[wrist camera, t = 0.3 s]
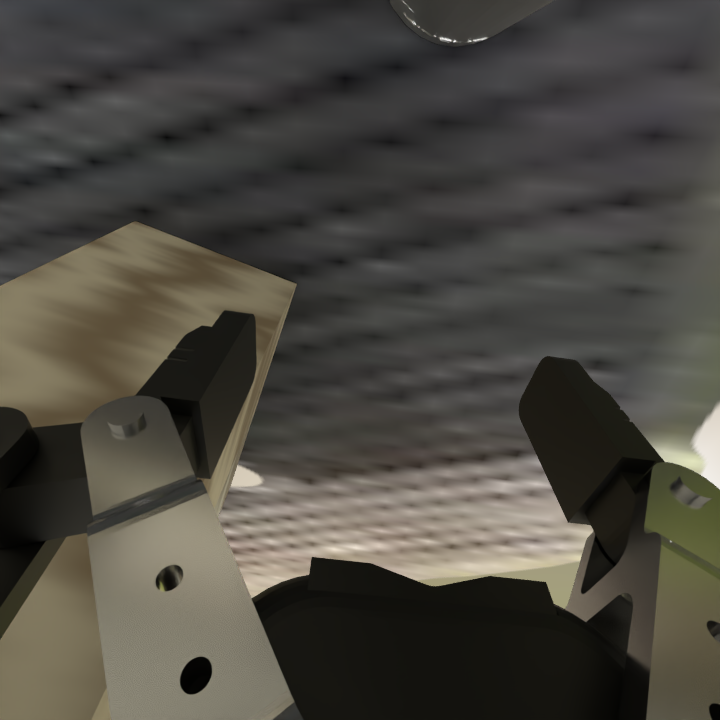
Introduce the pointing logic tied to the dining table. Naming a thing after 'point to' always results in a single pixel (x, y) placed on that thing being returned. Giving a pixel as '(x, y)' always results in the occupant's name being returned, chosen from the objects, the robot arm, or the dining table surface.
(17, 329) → the step stand
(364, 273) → the dining table surface
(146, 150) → the dining table surface
